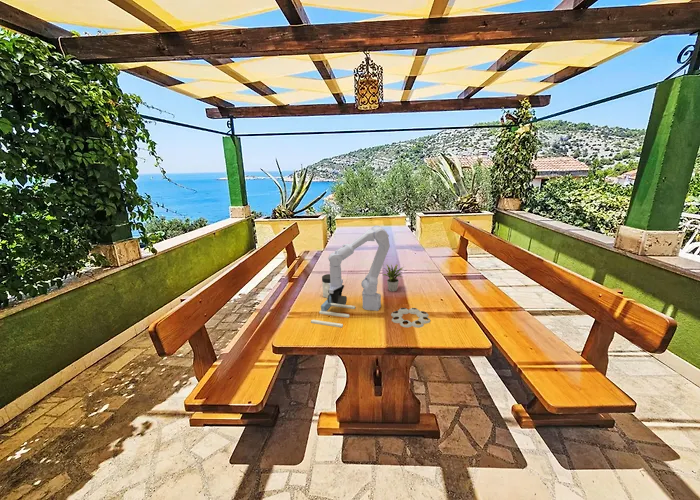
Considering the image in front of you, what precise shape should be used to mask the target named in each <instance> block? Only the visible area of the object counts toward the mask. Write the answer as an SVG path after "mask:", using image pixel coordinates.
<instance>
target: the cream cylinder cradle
mask: <svg viewBox="0 0 700 500" xmlns="http://www.w3.org/2000/svg"><path fill="white" fill-rule="evenodd" d="M331 307H337V308H344V309H351V310H355V309H356V305H350V304H345V305H342V304H335V303H328V301H327V299H326V300H325V301H324V302H323V303H322V304H321V305H320V310H319V311H318V314H319V315H326V316H333V317H334V316H335V317H340V318H346V319H347V318H350V314H349V313H343V312H342V313H341V312H335V311H334V312H333V311H328V310H329V309H330V308H331ZM310 323H311V324H316V325H323V326H328V327H329V326H330V327H337V328H340V329H341V328H343V326H344V325H343V323H337V322H333V321H332V322H331V321H325V320H317V319H311V320H310Z"/></svg>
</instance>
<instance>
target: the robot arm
mask: <svg viewBox="0 0 700 500" xmlns="http://www.w3.org/2000/svg"><path fill="white" fill-rule="evenodd" d="M375 241H376V244H377V245H378V247H377V250H376V253H375V256H374V258H373V260H372V263H371V266H370V268H369V271H368V273H367V274H365V277H364V279H363V280H361V287H362V288H363V290H362V292H361V293H362V294H361V297H362V299H361V300H362V309H363V310H364V311H365V310H366V311H376V312H378V311H379V310H380V308H381V307H382V303H381V302H382V296H381V293H378V283H379V282H378V281H379V279H378V278H379V276H380V273H381V271H382V267H383V265H384V263H385V260H386V258H387V255H388V252H389V249H390V240H389V234H388V233H387V230H385V229H383V228H382V227H381V226H379V225H373V226H372V227H371V228H369V229H367V230H366V231H365V232H364V233H362V234H361V235H360V236H359V237H358V238H355V240H354V241H353V242H351V243H343V244H342V245H341V246H340V248H339V249H337V250H334V252H331V253H330V254H329V256H328V257H327V259H328V261H329V274H330V283H329V284H328V285H329V286H330V289H329V290H328V293H329V294H330V296H331V298H332V301H333V303H337V302H338V295H341V296H343V295H342V294H343V290H344V288H345V284H343V283H344V279H343V278H342V267H341V265H342V262H343V261H344V260H346V259H348V258H349V256H351V255H353V254H354V252H355V250H356V249H358V248H359V247H361V246H362V245H364V244H366V243H367V242H375Z"/></svg>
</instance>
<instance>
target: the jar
mask: <svg viewBox="0 0 700 500" xmlns="http://www.w3.org/2000/svg"><path fill="white" fill-rule="evenodd" d="M321 280H322V281H321V283H322V284H321V285H322V286H321V287H322V297H323V298H326V299H327V298H328V295H329V293H328V290H329V289H330V286H329V285H328V284H329V283H330V273H327V274H324V275H322V276H321Z"/></svg>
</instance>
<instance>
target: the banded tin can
mask: <svg viewBox="0 0 700 500" xmlns="http://www.w3.org/2000/svg"><path fill="white" fill-rule="evenodd" d="M326 300H327V301H328V303H333V301H332V298H331V296H330V294H329V295H328V298H326ZM347 301H348V298H347V296H345V295H338V302H337V303H335V304H342V305H347Z"/></svg>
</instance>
